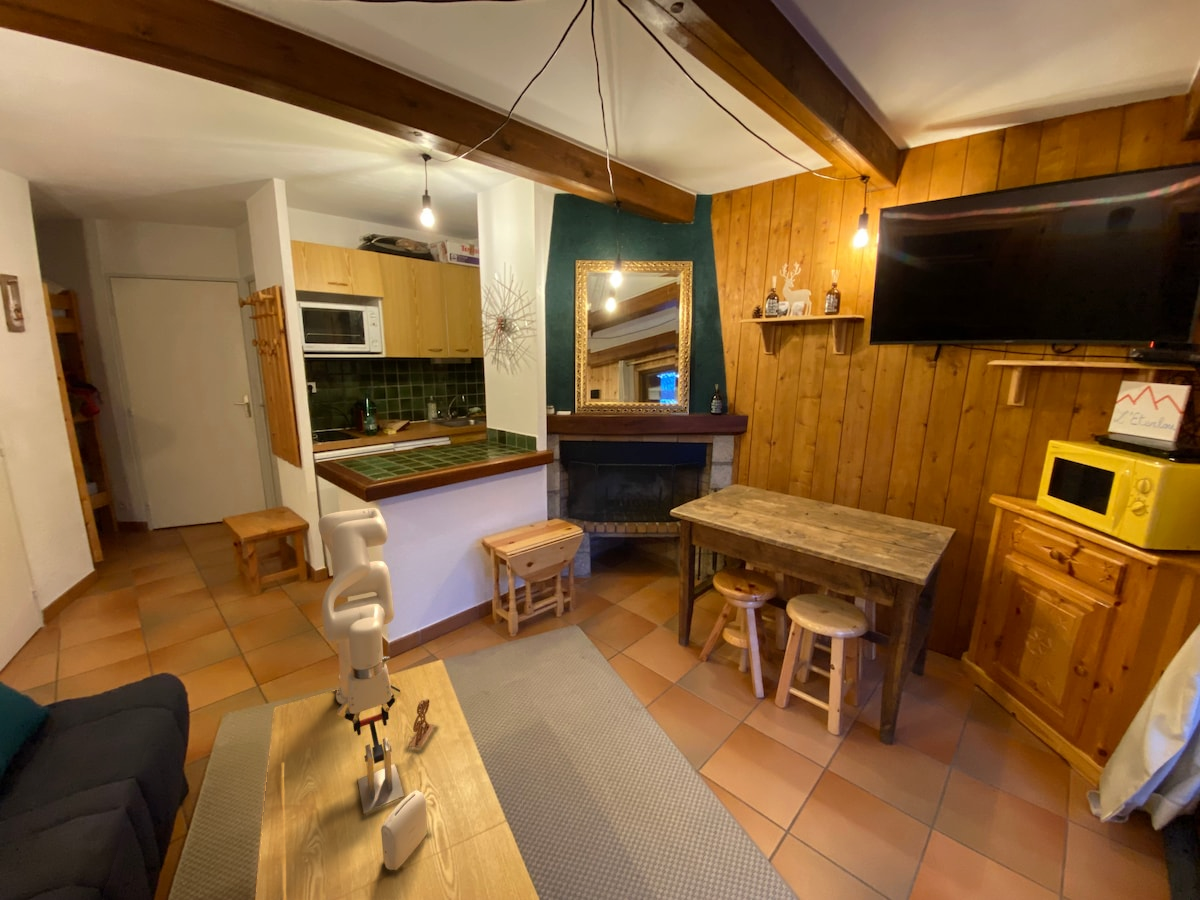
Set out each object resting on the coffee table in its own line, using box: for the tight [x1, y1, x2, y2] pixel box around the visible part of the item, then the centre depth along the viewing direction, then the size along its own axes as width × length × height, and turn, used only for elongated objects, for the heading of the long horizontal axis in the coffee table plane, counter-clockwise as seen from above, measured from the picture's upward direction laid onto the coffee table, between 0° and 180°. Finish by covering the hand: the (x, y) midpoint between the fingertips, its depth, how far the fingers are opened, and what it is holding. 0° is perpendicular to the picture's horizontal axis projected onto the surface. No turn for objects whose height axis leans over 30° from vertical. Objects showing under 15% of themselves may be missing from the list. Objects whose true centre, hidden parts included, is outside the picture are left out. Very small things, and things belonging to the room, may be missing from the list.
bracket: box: [357, 737, 405, 815], centre depth 119 cm, size 11×9×13 cm
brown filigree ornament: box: [408, 698, 436, 749], centre depth 136 cm, size 9×4×12 cm, turn 171°
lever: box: [360, 712, 384, 765], centre depth 122 cm, size 12×6×2 cm, turn 34°
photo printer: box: [380, 789, 428, 871], centre depth 105 cm, size 10×4×12 cm, turn 156°
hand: (371, 726), depth 126 cm, fingers closed on lever, 5 cm apart
